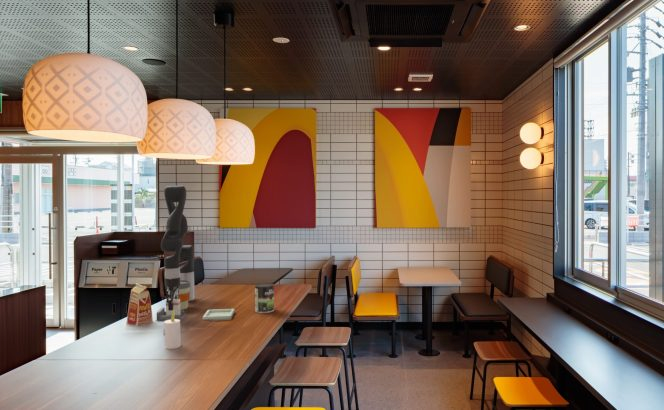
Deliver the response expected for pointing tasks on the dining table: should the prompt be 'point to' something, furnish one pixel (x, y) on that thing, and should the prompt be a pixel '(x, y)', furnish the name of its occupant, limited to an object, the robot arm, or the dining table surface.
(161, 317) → the grey holder
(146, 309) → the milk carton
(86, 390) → the dining table surface
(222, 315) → the tray
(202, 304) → the dining table surface
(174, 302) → the white banded brick
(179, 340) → the candle
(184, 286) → the reusable coffee cup
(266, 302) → the coffee can
